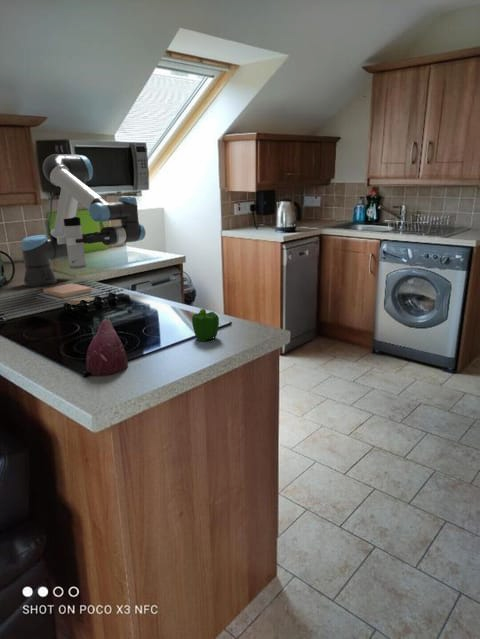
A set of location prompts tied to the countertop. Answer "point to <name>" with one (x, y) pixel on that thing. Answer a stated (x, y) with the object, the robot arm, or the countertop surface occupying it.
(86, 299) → the coaster
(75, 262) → the travel mug
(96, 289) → the mat
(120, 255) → the countertop surface
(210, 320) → the bell pepper
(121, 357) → the vegetable
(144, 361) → the countertop surface
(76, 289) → the tile
